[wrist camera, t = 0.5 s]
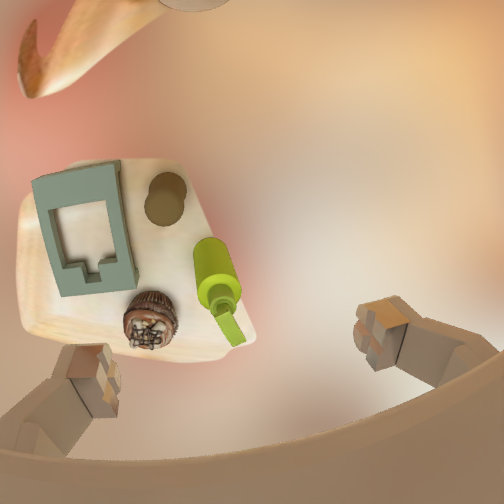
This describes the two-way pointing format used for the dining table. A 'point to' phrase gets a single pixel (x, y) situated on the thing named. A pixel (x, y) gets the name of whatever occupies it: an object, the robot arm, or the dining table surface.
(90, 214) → the dining table surface
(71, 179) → the grey-green slotted stand
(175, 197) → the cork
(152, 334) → the cupcake
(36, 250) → the dining table surface
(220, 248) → the soap dispenser
